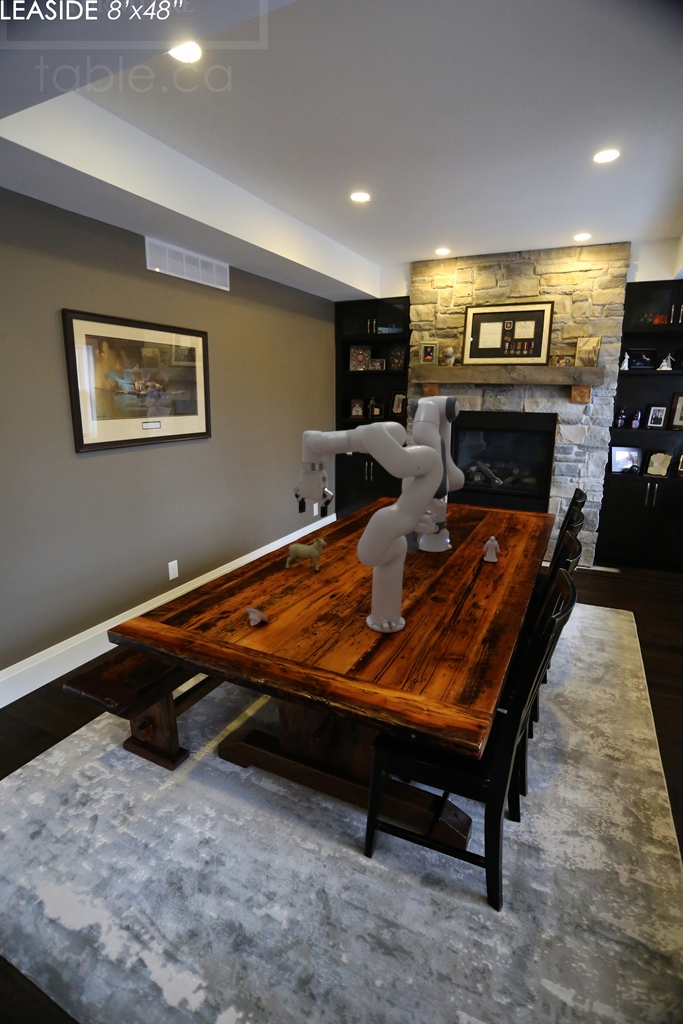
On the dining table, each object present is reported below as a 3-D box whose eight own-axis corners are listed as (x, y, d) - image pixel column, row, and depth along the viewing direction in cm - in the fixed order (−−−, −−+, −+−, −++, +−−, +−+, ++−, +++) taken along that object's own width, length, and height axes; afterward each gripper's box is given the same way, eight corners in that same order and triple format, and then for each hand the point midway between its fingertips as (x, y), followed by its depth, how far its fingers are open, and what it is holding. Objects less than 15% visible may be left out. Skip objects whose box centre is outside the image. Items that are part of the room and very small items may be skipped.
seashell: (251, 634, 162) (235, 615, 161) (262, 623, 165) (246, 604, 164) (262, 630, 156) (245, 610, 155) (273, 618, 159) (257, 599, 158)
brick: (418, 549, 206) (420, 527, 204) (411, 553, 201) (412, 531, 199) (408, 547, 209) (409, 525, 207) (400, 551, 204) (401, 529, 202)
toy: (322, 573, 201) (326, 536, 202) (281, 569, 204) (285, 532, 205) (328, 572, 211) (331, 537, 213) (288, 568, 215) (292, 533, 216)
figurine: (481, 562, 222) (483, 536, 219) (482, 556, 230) (484, 531, 227) (499, 564, 220) (501, 538, 217) (499, 558, 228) (501, 533, 225)
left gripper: (339, 468, 171) (338, 516, 176) (300, 463, 181) (300, 509, 185) (326, 470, 165) (326, 520, 170) (286, 465, 175) (287, 512, 179)
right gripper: (439, 510, 197) (437, 544, 201) (394, 503, 209) (392, 534, 212) (432, 513, 192) (430, 547, 196) (386, 505, 204) (385, 538, 207)
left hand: (312, 514), depth 177 cm, fingers open, 9 cm apart
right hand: (410, 541), depth 204 cm, fingers closed on brick, 5 cm apart
